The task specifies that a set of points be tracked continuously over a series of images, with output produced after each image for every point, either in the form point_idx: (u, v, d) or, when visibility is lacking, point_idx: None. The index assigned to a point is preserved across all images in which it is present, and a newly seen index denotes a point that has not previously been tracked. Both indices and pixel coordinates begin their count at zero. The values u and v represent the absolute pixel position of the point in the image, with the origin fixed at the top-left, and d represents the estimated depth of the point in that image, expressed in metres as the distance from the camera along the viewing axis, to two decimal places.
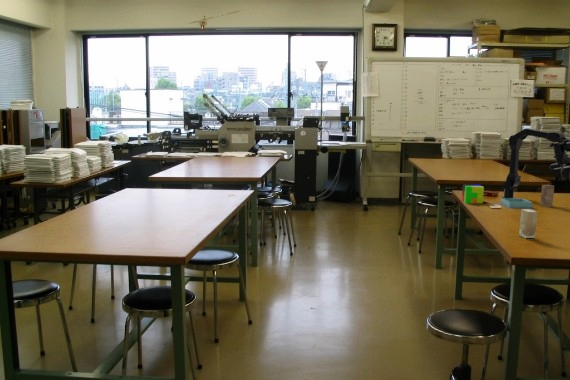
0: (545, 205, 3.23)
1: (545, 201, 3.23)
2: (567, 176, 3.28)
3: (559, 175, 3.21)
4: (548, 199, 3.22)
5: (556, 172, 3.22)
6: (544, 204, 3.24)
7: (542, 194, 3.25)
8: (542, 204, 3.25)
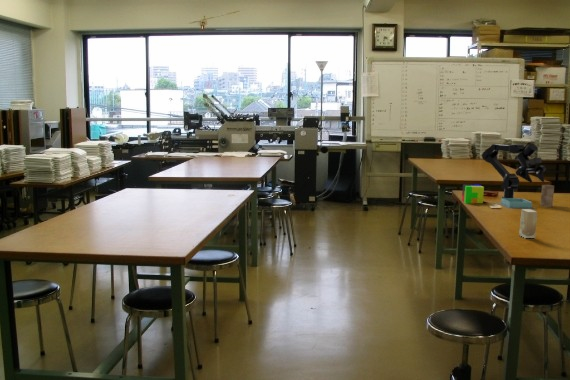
0: (545, 205, 3.23)
1: (545, 201, 3.23)
2: (541, 179, 3.33)
3: (527, 178, 3.30)
4: (548, 199, 3.22)
5: (524, 176, 3.32)
6: (544, 204, 3.24)
7: (542, 194, 3.25)
8: (542, 204, 3.25)
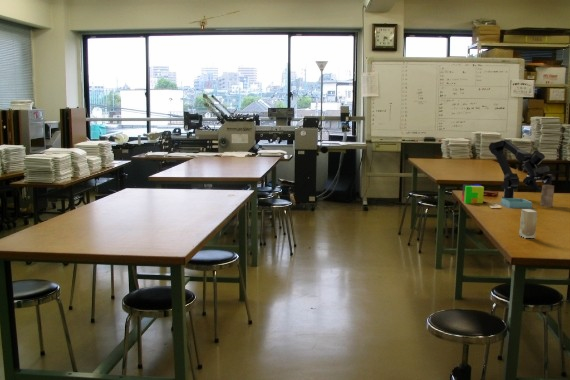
0: (545, 205, 3.23)
1: (545, 201, 3.23)
2: None
3: (535, 186, 3.25)
4: (548, 199, 3.22)
5: (532, 185, 3.27)
6: (544, 204, 3.24)
7: (542, 194, 3.25)
8: (542, 204, 3.25)
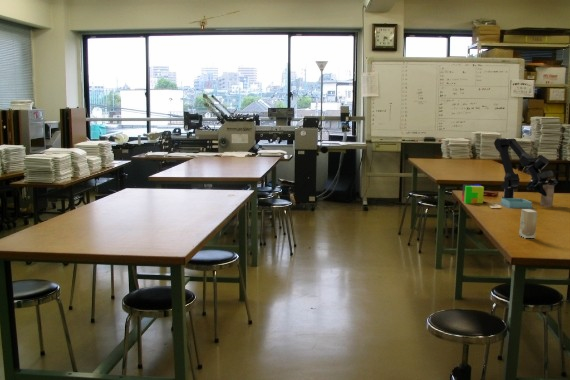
0: (545, 205, 3.23)
1: (545, 201, 3.23)
2: None
3: (542, 191, 3.23)
4: (548, 199, 3.22)
5: (538, 190, 3.25)
6: (544, 204, 3.24)
7: None
8: (542, 204, 3.25)
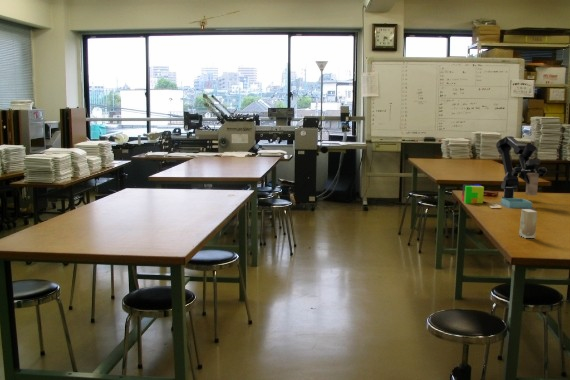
0: (528, 193, 3.22)
1: (528, 189, 3.22)
2: None
3: (525, 179, 3.23)
4: (531, 187, 3.20)
5: (523, 177, 3.25)
6: (528, 192, 3.22)
7: None
8: (526, 192, 3.24)
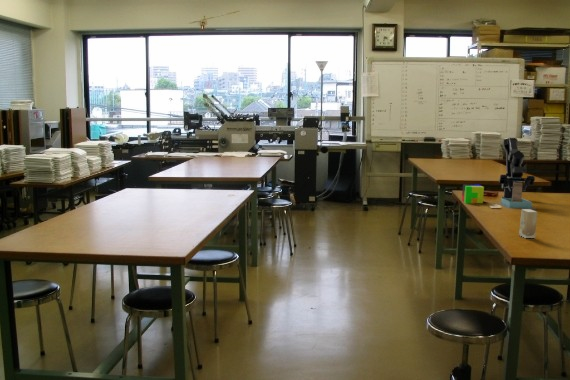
0: None
1: (512, 198, 3.23)
2: None
3: (508, 186, 3.24)
4: (515, 196, 3.22)
5: (507, 185, 3.27)
6: (512, 201, 3.24)
7: (512, 191, 3.25)
8: None
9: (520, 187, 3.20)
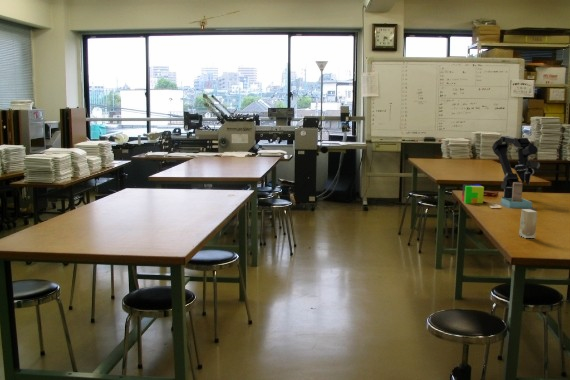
0: None
1: (512, 198, 3.23)
2: (527, 181, 3.38)
3: (522, 177, 3.30)
4: (515, 196, 3.22)
5: (520, 174, 3.31)
6: (512, 201, 3.24)
7: (512, 191, 3.25)
8: None
9: (520, 187, 3.20)
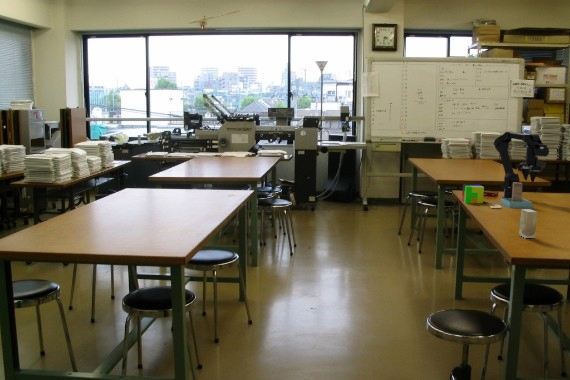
0: None
1: (512, 198, 3.23)
2: (525, 177, 3.41)
3: (533, 177, 3.31)
4: (515, 196, 3.22)
5: (532, 173, 3.30)
6: (512, 201, 3.24)
7: (512, 191, 3.25)
8: None
9: (520, 187, 3.20)
